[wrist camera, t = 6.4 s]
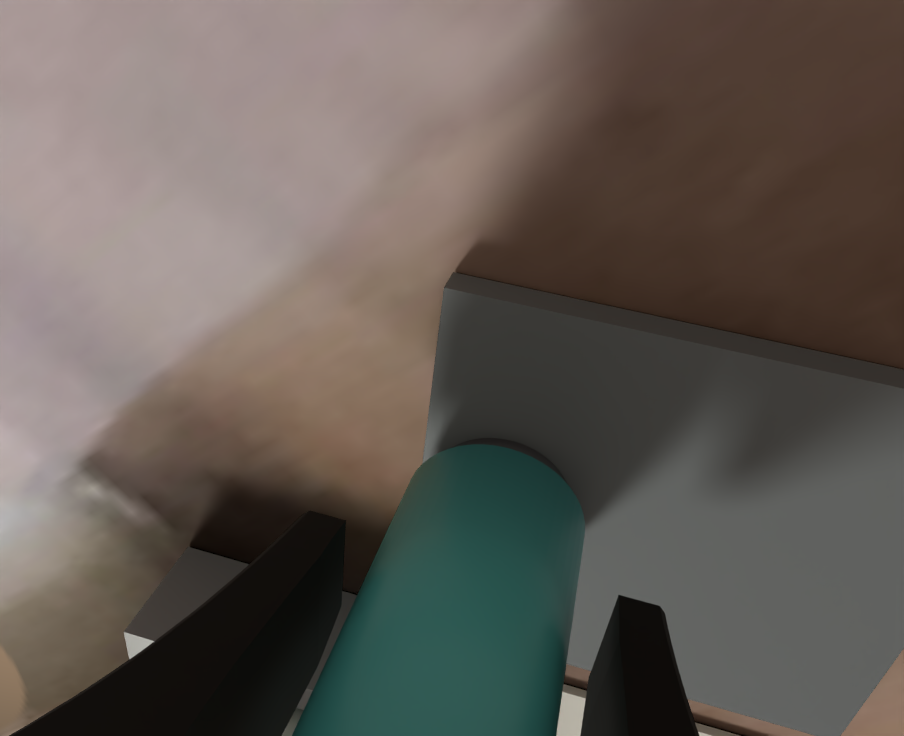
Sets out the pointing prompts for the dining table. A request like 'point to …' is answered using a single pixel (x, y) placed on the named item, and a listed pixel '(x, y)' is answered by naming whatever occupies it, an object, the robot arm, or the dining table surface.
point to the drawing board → (701, 487)
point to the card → (574, 712)
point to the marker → (461, 605)
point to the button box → (189, 590)
